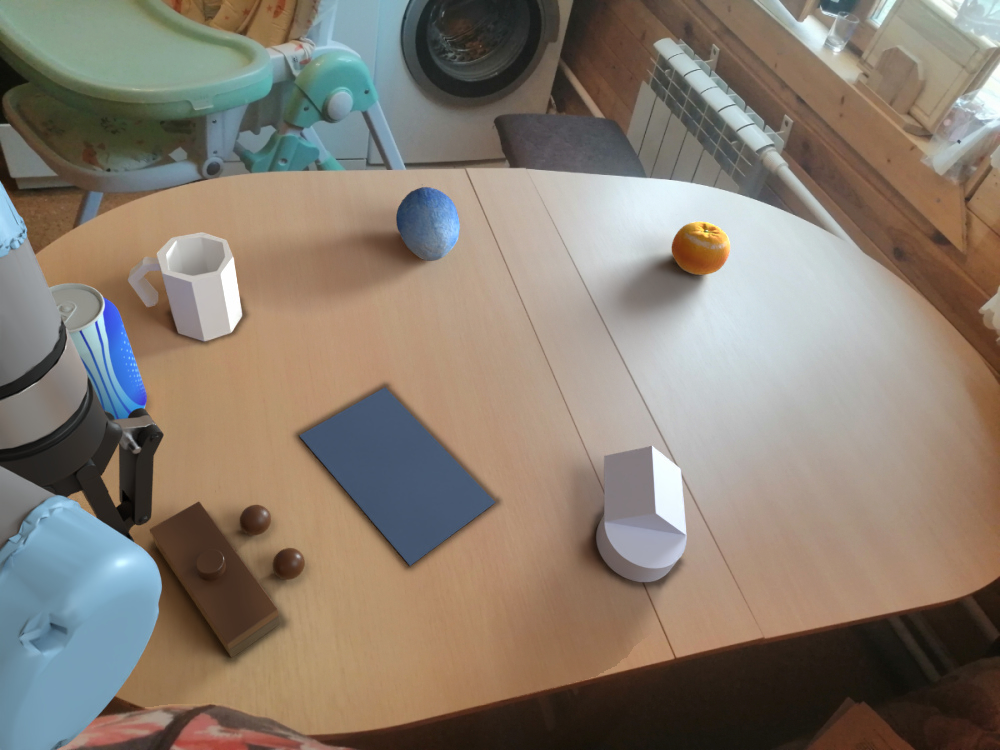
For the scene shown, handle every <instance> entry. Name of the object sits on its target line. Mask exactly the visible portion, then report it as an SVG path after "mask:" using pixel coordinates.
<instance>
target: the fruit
mask: <svg viewBox="0 0 1000 750" xmlns="http://www.w3.org/2000/svg"><path fill="white" fill-rule="evenodd" d="M730 252H731V242H730V239H729V236H728V235H727V233H726V232H725V231H724V230H723V229H722V228H720V227H719V226H718V225H715V224H713V223H710V222H707V221H693V222H689V223H687V224H685V225H683V226H682V227H681V228H679V229H678V231H677V232H676V234H675V235H674V237H673V240H672V243H671V254H672V257H673V259H674V261H675V262H676V263H677V265H678V266H679V267H680V269H682V270H683V271H685V272H686V273H689V274H691V275H695V276H696V275H698V276H699V275H701V276H704V275H710V274H713V273H716V272H718V271H719V270H720V269H721V268H722V267H723V266H724V265H725V264H726V262H727V260H728V258H729V256H730Z"/></svg>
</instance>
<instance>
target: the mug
mask: <svg viewBox="0 0 1000 750" xmlns="http://www.w3.org/2000/svg"><path fill="white" fill-rule="evenodd" d="M148 272H160V273H161V278H162V280H163V284H164V288H165V292H166V296H167V300H168V303H169V307H170V311H171V315H172V318H173V321H174V325H175V327H176V330H177V331H176V332H177V333H178V334H180V335H182V336H186V337H189V338H192V339H195V340H199V341H202V342H208V341H211V340H213V339H216V338H220V337H223V336H226V335H230V334H232V332H233V331H234V329H235V328H236V326H237V325H238V324H239V322H240V320H241V319H242V317H243V310H242V305H241V298H240V291H239V285H238V279H237V272H236V266H235V258H234V256H233V253H232V249H231V248H230V245H229V242H228V240H227V239H225V238H221V237H218V236H215V235H212V234H209V233H206V232H203V231H201V232H194V233H190V234H189V233H188V234H184V235H179V236H172V237H170V239H169V240H168V241H167V242H166V243H165V244H164V245H163V246H162V247H161V248H160V249H159V250H158V251H157V253H156V257H152V256H144V257H143V258H141V260H139V262H137V264H135V265H134V266H133V267H131V269H130V271H129V274H128V278H127V282H128V283H129V285H130V286H131V288H132V289H133V290H134V291H135V293H136V294H137V296H138V297H139V298H140V300H141V301H142V302H143V304H144V305H145V307H146V308H150V307H153V306H156V305H157V303H158V301H159V292H158V291H157V289H156V288H155V287H154V286H153V285H152V284H151V282H149V280H148V279H147V278H146V277H145V275H146V274H148Z"/></svg>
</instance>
